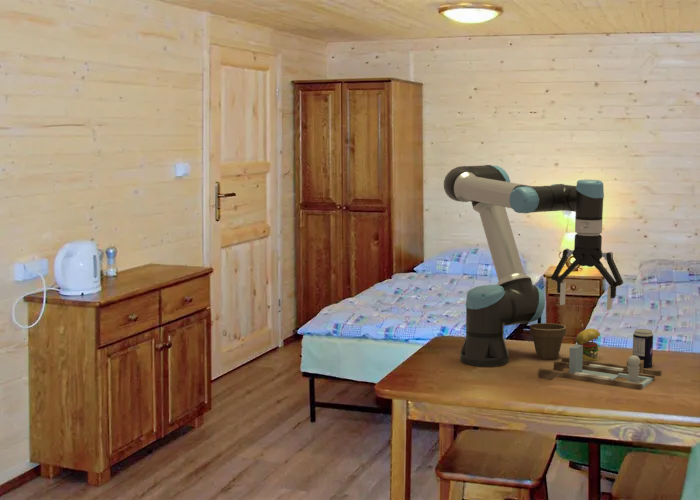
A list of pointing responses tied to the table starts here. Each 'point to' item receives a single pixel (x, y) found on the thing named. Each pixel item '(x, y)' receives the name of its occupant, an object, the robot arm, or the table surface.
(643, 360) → the walnut cube
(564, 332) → the flower pot
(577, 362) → the pale grey slab
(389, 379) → the table surface
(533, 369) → the table surface
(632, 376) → the chess piece
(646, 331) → the beverage can
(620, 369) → the lane rails
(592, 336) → the hamburger
